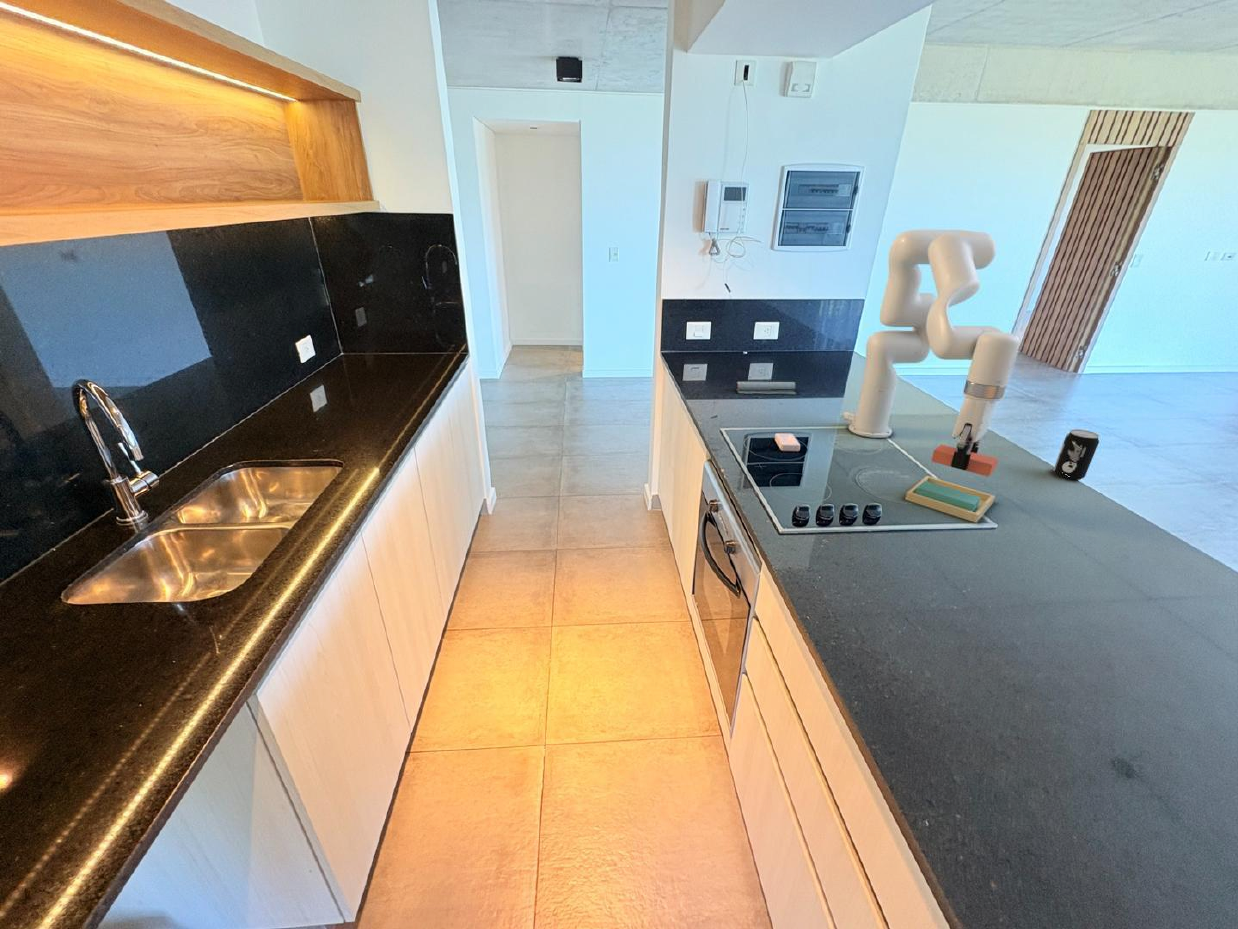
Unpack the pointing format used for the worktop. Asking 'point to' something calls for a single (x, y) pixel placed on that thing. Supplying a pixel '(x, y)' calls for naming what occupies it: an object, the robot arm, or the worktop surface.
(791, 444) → the soap bar
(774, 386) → the aluminum foil
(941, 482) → the tray
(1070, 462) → the beverage can
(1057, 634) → the worktop surface
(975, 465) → the red rectangular block
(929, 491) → the pad
